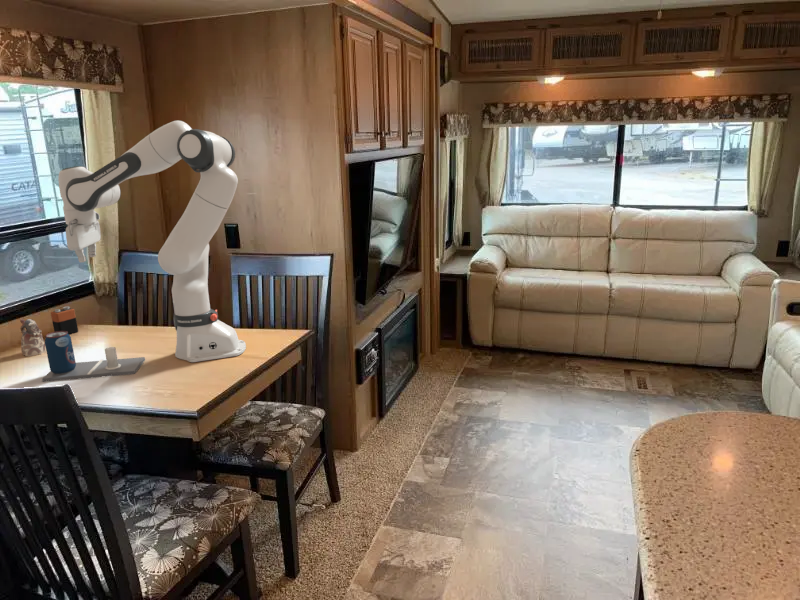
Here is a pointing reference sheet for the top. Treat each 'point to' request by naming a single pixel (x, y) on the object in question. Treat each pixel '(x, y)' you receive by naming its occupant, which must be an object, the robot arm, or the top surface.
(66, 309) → the battery
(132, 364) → the board
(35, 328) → the figurine
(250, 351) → the top surface
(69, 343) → the soda can
